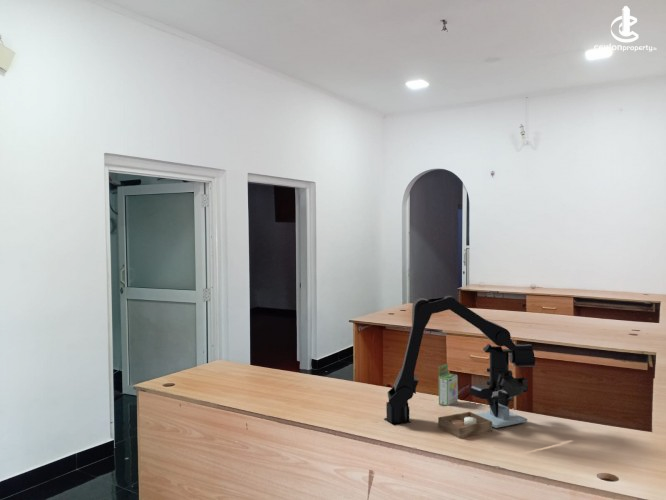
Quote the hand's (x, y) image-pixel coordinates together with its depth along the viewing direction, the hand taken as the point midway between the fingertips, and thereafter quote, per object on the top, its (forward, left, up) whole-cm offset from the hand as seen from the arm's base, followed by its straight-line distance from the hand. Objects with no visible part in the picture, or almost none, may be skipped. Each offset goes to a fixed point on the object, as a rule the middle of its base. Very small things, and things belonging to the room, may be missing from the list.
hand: (499, 415), depth 162 cm
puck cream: (-11, 0, -2) cm, 12 cm away
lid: (0, 0, -1) cm, 1 cm away
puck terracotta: (-16, -1, -2) cm, 17 cm away
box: (-14, -1, -2) cm, 14 cm away
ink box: (-2, +23, -2) cm, 23 cm away
